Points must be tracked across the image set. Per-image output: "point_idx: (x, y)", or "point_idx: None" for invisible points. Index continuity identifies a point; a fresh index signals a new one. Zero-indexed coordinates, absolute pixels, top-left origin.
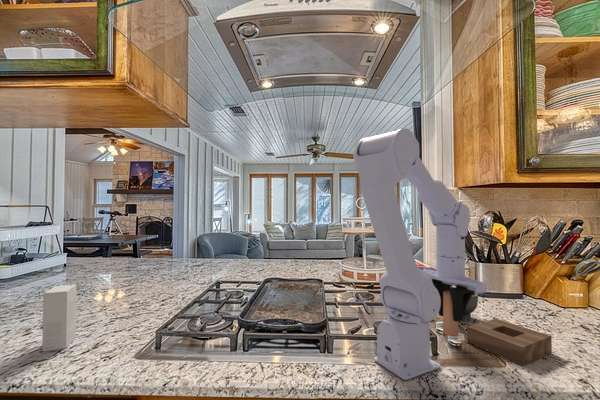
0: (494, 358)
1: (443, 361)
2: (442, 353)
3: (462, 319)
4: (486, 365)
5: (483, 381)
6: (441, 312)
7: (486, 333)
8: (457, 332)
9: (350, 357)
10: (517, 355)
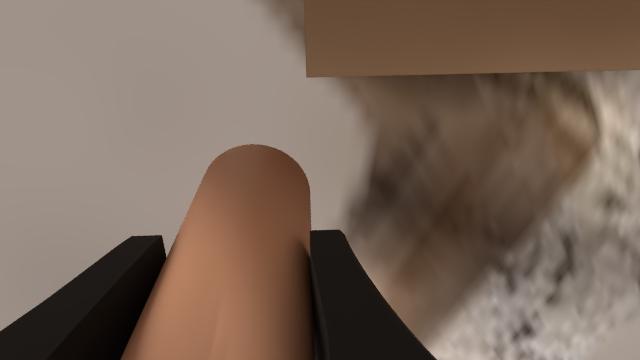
0: (527, 102)
1: None
2: None
3: (345, 237)
4: (528, 215)
5: (569, 333)
6: None
7: (497, 66)
8: (309, 198)
9: None
10: None
